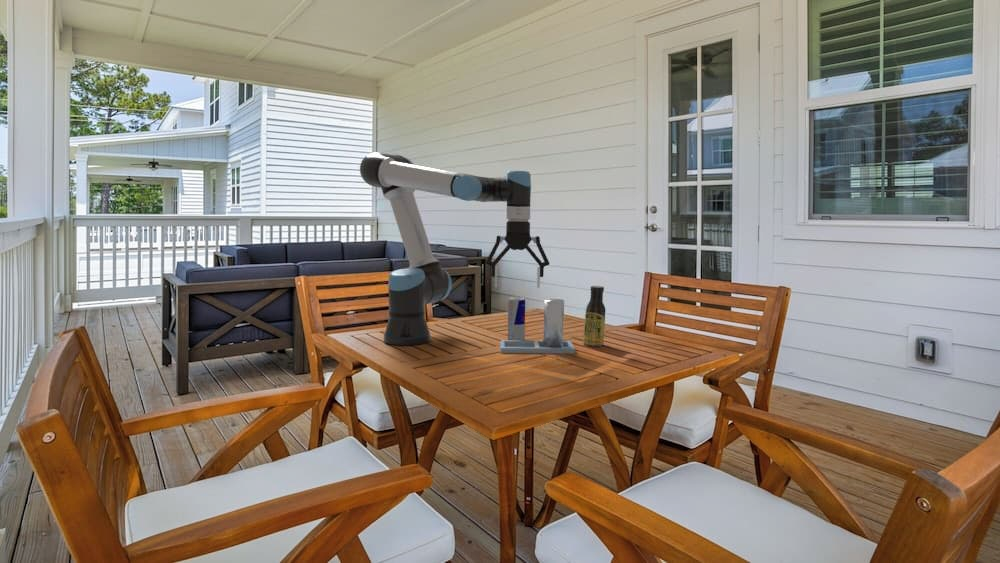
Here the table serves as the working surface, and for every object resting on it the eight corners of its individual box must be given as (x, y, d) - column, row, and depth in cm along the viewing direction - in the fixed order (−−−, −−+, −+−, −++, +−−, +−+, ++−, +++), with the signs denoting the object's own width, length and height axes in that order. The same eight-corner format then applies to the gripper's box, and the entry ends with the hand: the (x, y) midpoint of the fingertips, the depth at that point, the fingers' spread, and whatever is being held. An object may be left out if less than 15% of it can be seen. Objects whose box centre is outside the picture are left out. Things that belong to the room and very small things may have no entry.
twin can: (539, 349, 165) (540, 300, 163) (549, 345, 170) (551, 298, 168) (556, 352, 162) (557, 302, 160) (566, 348, 166) (567, 300, 165)
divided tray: (500, 356, 161) (500, 348, 161) (500, 348, 171) (500, 340, 170) (574, 357, 161) (575, 348, 161) (570, 348, 171) (570, 340, 171)
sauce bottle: (580, 349, 171) (582, 286, 168) (587, 345, 176) (588, 284, 174) (600, 352, 168) (602, 288, 165) (606, 347, 173) (608, 285, 171)
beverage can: (518, 346, 174) (518, 299, 172) (504, 343, 177) (504, 298, 176) (527, 343, 178) (528, 297, 177) (514, 340, 182) (514, 296, 180)
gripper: (478, 220, 169) (478, 287, 172) (558, 221, 169) (557, 289, 172) (479, 219, 176) (478, 284, 179) (556, 221, 177) (554, 285, 179)
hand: (517, 287), depth 175 cm, fingers open, 13 cm apart
